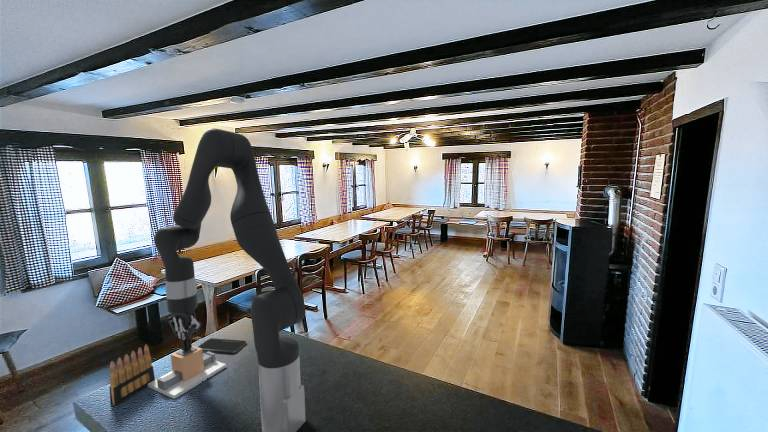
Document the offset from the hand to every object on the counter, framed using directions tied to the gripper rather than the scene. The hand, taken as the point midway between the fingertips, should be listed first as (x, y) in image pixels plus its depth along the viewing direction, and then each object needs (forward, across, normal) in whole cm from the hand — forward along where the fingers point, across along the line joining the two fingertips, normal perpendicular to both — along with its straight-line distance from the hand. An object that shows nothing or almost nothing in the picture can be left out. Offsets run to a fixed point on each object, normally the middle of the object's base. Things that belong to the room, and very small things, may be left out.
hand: (186, 349), depth 95 cm
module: (+8, 0, 0) cm, 8 cm away
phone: (+9, +6, -16) cm, 19 cm away
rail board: (+9, 0, 0) cm, 9 cm away
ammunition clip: (+9, +7, +11) cm, 16 cm away
